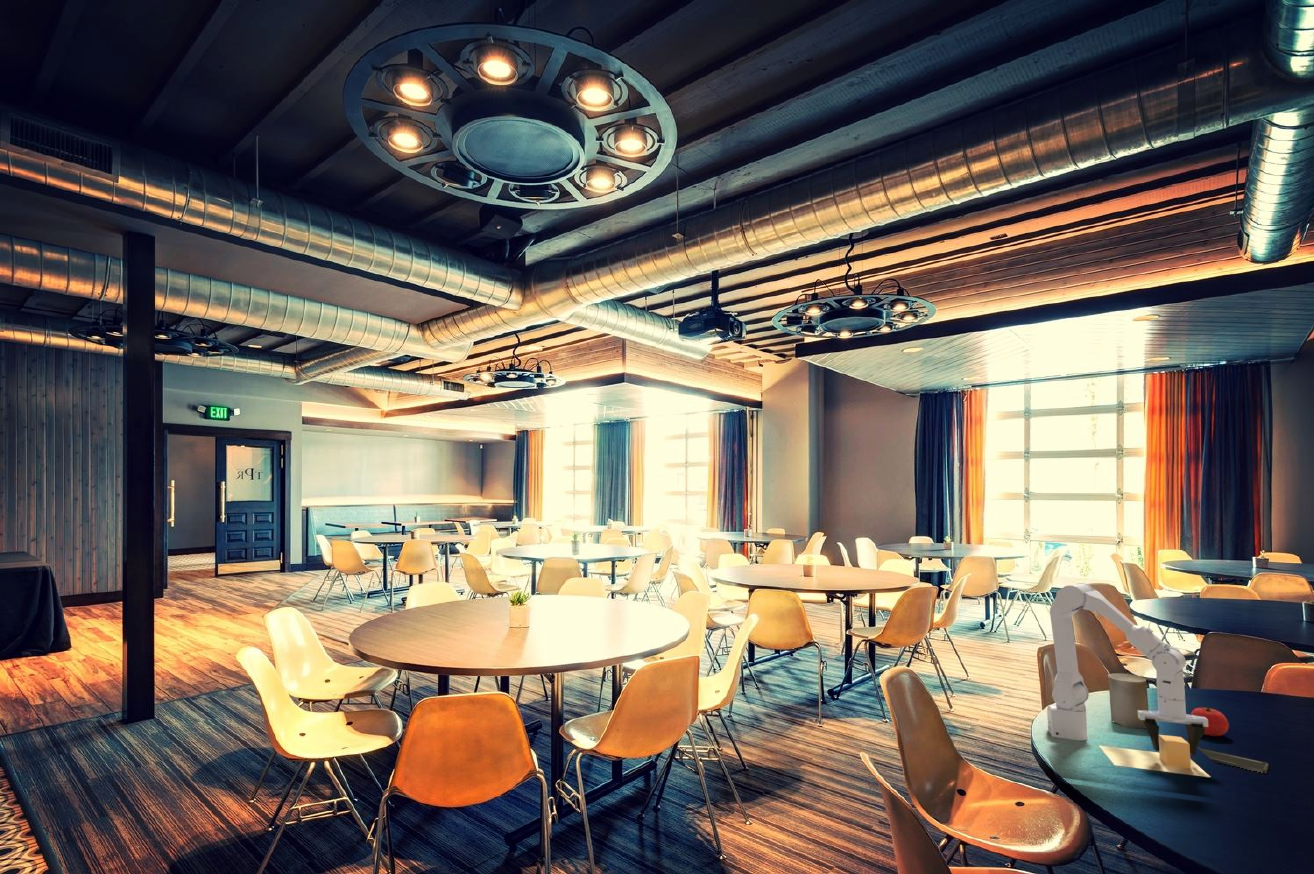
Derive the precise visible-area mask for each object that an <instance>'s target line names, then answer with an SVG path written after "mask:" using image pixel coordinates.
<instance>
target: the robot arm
mask: <svg viewBox="0 0 1314 874" xmlns="http://www.w3.org/2000/svg"><path fill="white" fill-rule="evenodd" d="M1080 609H1083V610H1085V611H1091V612H1094V613H1095V612H1096V613H1098V614H1100V615H1101V616H1102V617H1104V618H1105V619H1106V620H1108V621H1109V622H1110V623H1112V624H1113V625H1114V626H1115V627H1116V628H1118V629H1119V630H1120V631H1122V632H1123V633H1124V634H1125V637H1126V640H1127V642H1128V643H1130V644H1131V645H1132V646H1133V647H1134V648H1135V649H1136V650H1138V651H1139V652H1140V653H1141V654H1143V655H1144V656H1145V657H1146V658H1148V660H1151V665H1152V667H1153V668H1154V669H1155V671H1156V672H1155V673H1156V674H1155V675H1156V679H1155V680H1156V695H1157V696H1156V697H1157V699H1156V700H1157V710H1149V711H1141V710H1138V718H1139V719H1140V720H1142V721H1143V723H1144V725H1145V727H1146V728H1145V729H1146V731H1147V732H1148V735H1149V738H1150V740H1151V744H1152V748H1153V749H1154V750H1155V752H1156V751H1157V752H1159V735H1160V733H1159V732H1160V725H1158V722H1162V723H1163V722H1164V723H1165V722H1166V723H1173V724H1184V725H1185V726H1186V731H1187V742H1188V743H1189V745H1190V755H1192V756H1196V753H1197V750H1198V748H1197V747H1199V746H1198V745H1199V743H1200V741H1201V738H1203V736H1204V735H1205V734H1204V733H1205V728H1203V726H1204V727H1208V719H1207V718H1205V717H1201V716H1194V715H1191V714H1189V713H1188V714H1187V711H1186V710H1187V709H1186V708H1187V706H1186V692H1185V691H1186V690H1185V680H1184V670H1183V669H1184V668H1185V667H1186V664H1187V660H1186V658H1185V656H1184V654H1183V653H1182V652H1181V651H1180V650H1179V649H1177V648H1174V647H1171V645H1170V644H1169V643H1168V642H1166V643H1165V642H1164V641H1163V640H1162V639H1160V638H1159V637H1158V636H1156V635H1155V633H1153V632H1154V630H1153V629H1152V628H1151V627H1145V626H1144V625H1137V624H1135V623H1134V622H1133V621H1131V620H1130V619H1129V618H1128V617H1127V616H1126V615H1125V614H1124V613H1123V612H1121V611H1120V610H1119V609H1118V608H1117V607H1116V606H1114V605H1113V604H1112V603H1111V602H1110V601H1109V600H1108V599H1107V598H1106V597H1105V596H1104V595H1103V594H1102V593H1101V592H1100V591H1098V590H1096V589H1094V587H1093V586H1091V585H1090V584H1088V583H1085V582H1080V583H1076V584H1069V585H1065V586H1063V587H1062V588H1060V589H1059V590H1058V591H1056V595H1055V598H1054V600H1053V602H1052V603H1051V606H1050V608H1049V617H1050V623H1051V631H1052V640H1053V647H1054V655H1055V656H1054V657H1055V664H1056V671H1057V673H1056V675H1055V677H1054V680H1053V684H1054V686H1053V689H1052V692H1051V694H1052V699H1053V701H1054V702H1055V704H1048V705H1047V712H1046V713H1047V730H1048V732H1049V734H1050V736H1051V737H1052V738H1059V739H1066V740H1071V741H1086V740H1088V728H1087V726H1088V725H1087V710H1086V709H1087V706H1086V705H1085V702H1087V701H1088V699H1089V698H1090V697H1089V696H1090V695H1089V694H1090V693H1089V689H1088V688H1087V686H1086V685H1085V682H1084V677H1083V676H1082V675H1081V673H1080V671H1079V663H1078V655H1077V649H1076V642H1075V640H1076V639H1075V634H1074V632H1075V631H1074V625H1073V617H1072V616H1073V615H1075V614H1076V613H1077V612H1078V611H1080Z"/></svg>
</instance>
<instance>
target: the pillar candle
mask: <svg viewBox="0 0 1314 874" xmlns="http://www.w3.org/2000/svg"><path fill="white" fill-rule="evenodd" d="M1107 676H1108V688H1109V690H1108V691H1109V707H1110V709H1109V710H1110V718H1111V719H1110V720H1111V722H1112V721H1114V722H1116V723H1115V724H1117V723H1118V725H1121V726H1122V725H1123V727H1126V726H1127V727H1126V728H1133V729H1147V728H1146V727H1145V725H1144V723H1143V721H1142V720H1140V719H1139V718H1138V710H1141V711H1150V710H1149V698H1148V686H1147V685H1148V684H1147V679H1146V678H1145V677H1142V676H1139V675H1135V674H1131V673H1109V674H1107ZM1114 722H1113V723H1114Z"/></svg>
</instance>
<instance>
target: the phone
mask: <svg viewBox="0 0 1314 874" xmlns="http://www.w3.org/2000/svg"><path fill="white" fill-rule="evenodd" d="M1197 750H1199V751H1200V752H1201V753H1203V754H1204V755H1205V756H1206V757H1207V758H1209V759H1210V760H1211V761H1212V762H1213V763H1215V762H1216V763H1215V764H1219V763H1223V764H1222V765H1224V764H1227V765H1226V766H1228V765H1231V766H1230V767H1232V766H1236V767H1240V768H1239V769H1241V768H1244V769H1243V770H1245V769H1247V770H1246V771H1249V770H1251V771H1250V772H1253V771H1257V772H1256V773H1258V772H1261V773H1260V774H1263V773H1265V774H1267V772H1268V769H1269V763H1268V762H1266V761H1262V760H1258V759H1253V758H1249V757H1245V756H1239V755H1235V754H1231V753H1227V752H1223V751H1217V750H1213V749H1209V748H1208V749H1207V748H1203V747H1199V746H1197ZM1236 767H1235V768H1236Z"/></svg>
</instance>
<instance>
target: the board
mask: <svg viewBox="0 0 1314 874" xmlns="http://www.w3.org/2000/svg"><path fill="white" fill-rule="evenodd" d="M1098 747H1099V748H1100V749H1101V750H1102V752H1103V753H1104V754H1105V755H1106V757H1107V758H1108V759H1109V761H1111V763H1112V764H1113V765H1114V766H1116V767H1117V766H1118V767H1126V768H1133V769H1141V770H1148V771H1158V772H1165V773H1173V774H1181V775H1189V776H1197V777H1205V778H1211V775H1209V774H1208V773H1207V772H1205V770H1203V769H1202V768H1201V767H1200V766H1199V765H1198V764H1197V763H1196V762H1195V761H1194V760H1192V759H1191V758H1190V762H1191V769H1190V768H1182V767H1174V766H1167V765H1166V764H1165V763H1164V762H1163V761H1162V760H1161V759H1160V758H1159V751H1157V752H1156V751H1147V750H1140V749H1139V750H1138V749H1131V748H1123V747H1112V746H1106V745H1105V746H1104V745H1098Z"/></svg>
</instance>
